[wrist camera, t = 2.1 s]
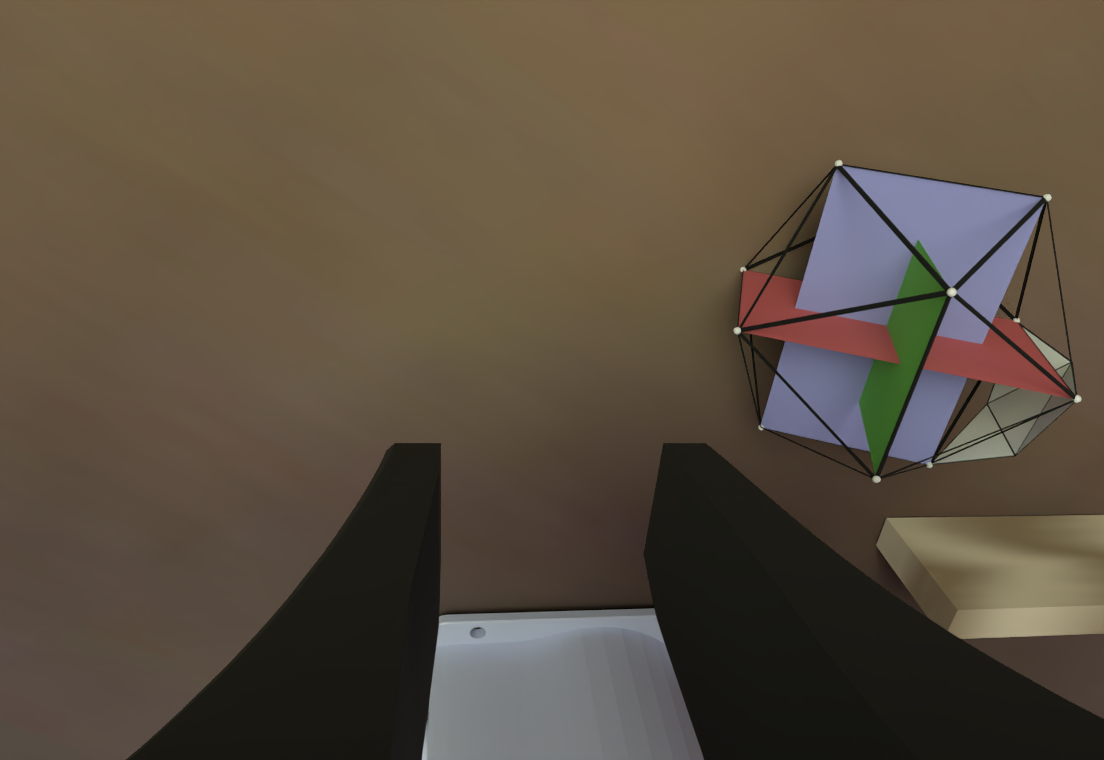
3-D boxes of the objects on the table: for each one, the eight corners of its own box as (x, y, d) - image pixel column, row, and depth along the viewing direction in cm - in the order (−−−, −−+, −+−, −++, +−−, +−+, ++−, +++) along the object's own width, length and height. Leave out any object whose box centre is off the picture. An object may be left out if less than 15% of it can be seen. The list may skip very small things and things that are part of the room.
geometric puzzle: (630, 420, 19) (947, 610, 14) (683, 143, 15) (1125, 268, 10) (778, 351, 23) (1054, 476, 18) (843, 128, 20) (1201, 209, 15)
